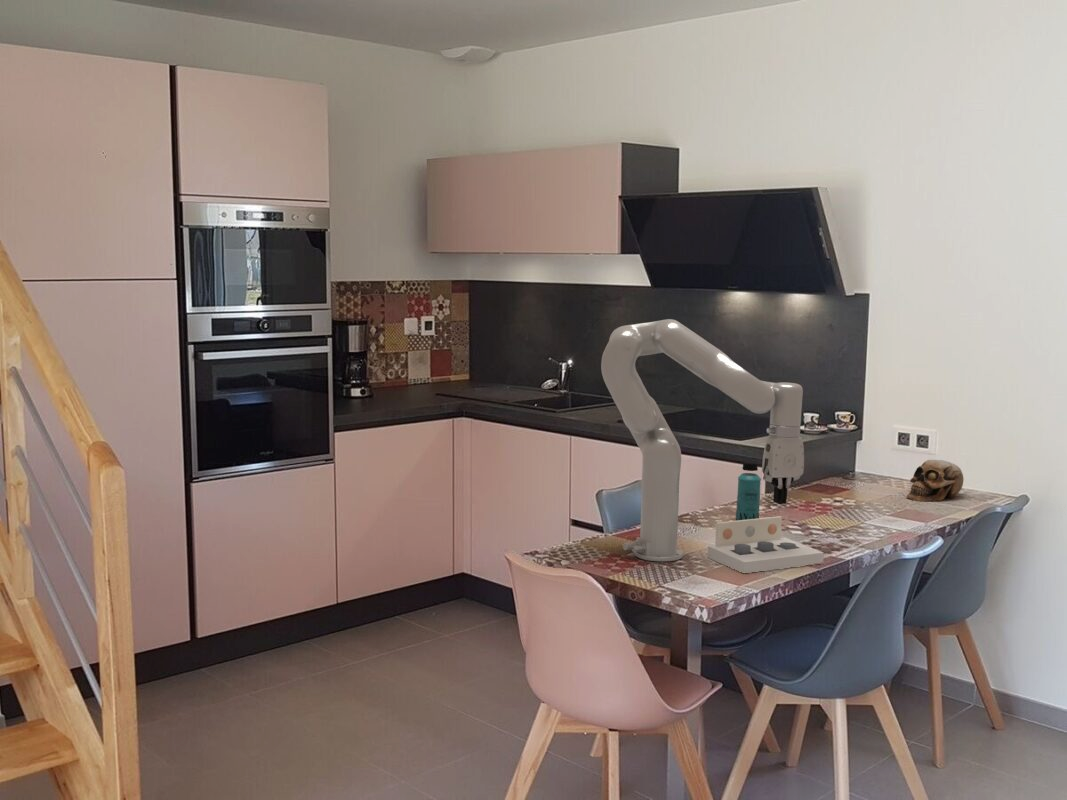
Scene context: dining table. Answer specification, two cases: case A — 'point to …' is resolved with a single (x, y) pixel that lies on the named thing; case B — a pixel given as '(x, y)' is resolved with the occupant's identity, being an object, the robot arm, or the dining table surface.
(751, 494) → the beverage bottle
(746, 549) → the button left
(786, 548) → the button right
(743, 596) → the dining table surface
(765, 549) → the button middle
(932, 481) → the brown skull
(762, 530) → the button panel
